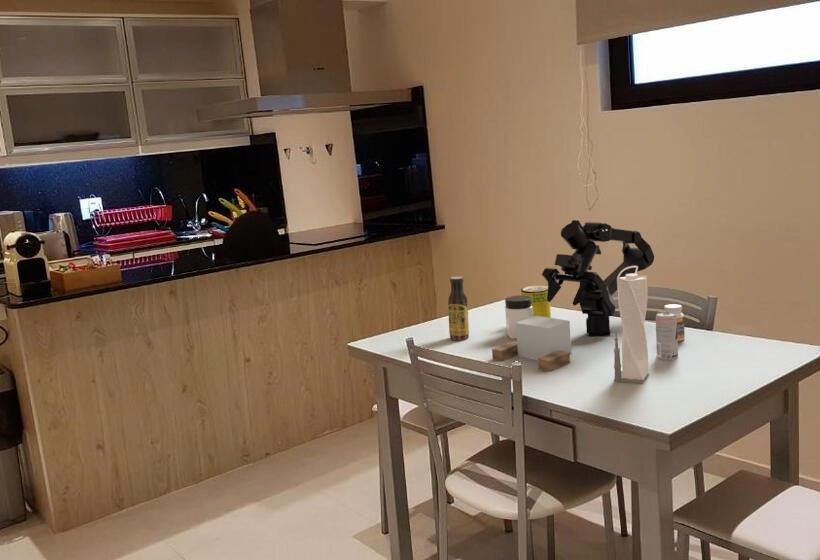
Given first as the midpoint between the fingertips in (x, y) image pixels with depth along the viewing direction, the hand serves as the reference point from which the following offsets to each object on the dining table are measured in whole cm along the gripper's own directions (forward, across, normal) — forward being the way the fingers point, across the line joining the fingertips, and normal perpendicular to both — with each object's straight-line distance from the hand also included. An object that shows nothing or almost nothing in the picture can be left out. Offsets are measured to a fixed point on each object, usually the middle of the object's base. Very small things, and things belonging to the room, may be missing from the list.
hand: (560, 303), depth 218 cm
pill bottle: (-6, +22, +26) cm, 34 cm away
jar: (+7, -20, +12) cm, 24 cm away
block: (+16, 0, +4) cm, 16 cm away
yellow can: (-2, -24, +21) cm, 32 cm away
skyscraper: (+17, +31, +2) cm, 36 cm away
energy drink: (+4, +29, +15) cm, 33 cm away
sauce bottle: (+16, -34, +3) cm, 38 cm away
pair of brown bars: (+20, 0, -1) cm, 20 cm away
